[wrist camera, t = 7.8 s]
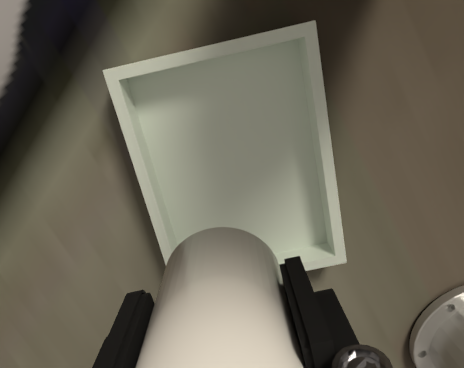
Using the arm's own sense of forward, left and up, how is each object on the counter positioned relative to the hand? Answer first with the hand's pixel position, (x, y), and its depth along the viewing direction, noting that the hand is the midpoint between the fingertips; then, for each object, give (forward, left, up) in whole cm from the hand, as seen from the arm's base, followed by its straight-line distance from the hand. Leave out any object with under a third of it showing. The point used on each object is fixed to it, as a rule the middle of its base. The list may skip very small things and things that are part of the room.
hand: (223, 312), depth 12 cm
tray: (-1, 0, -17) cm, 17 cm away
